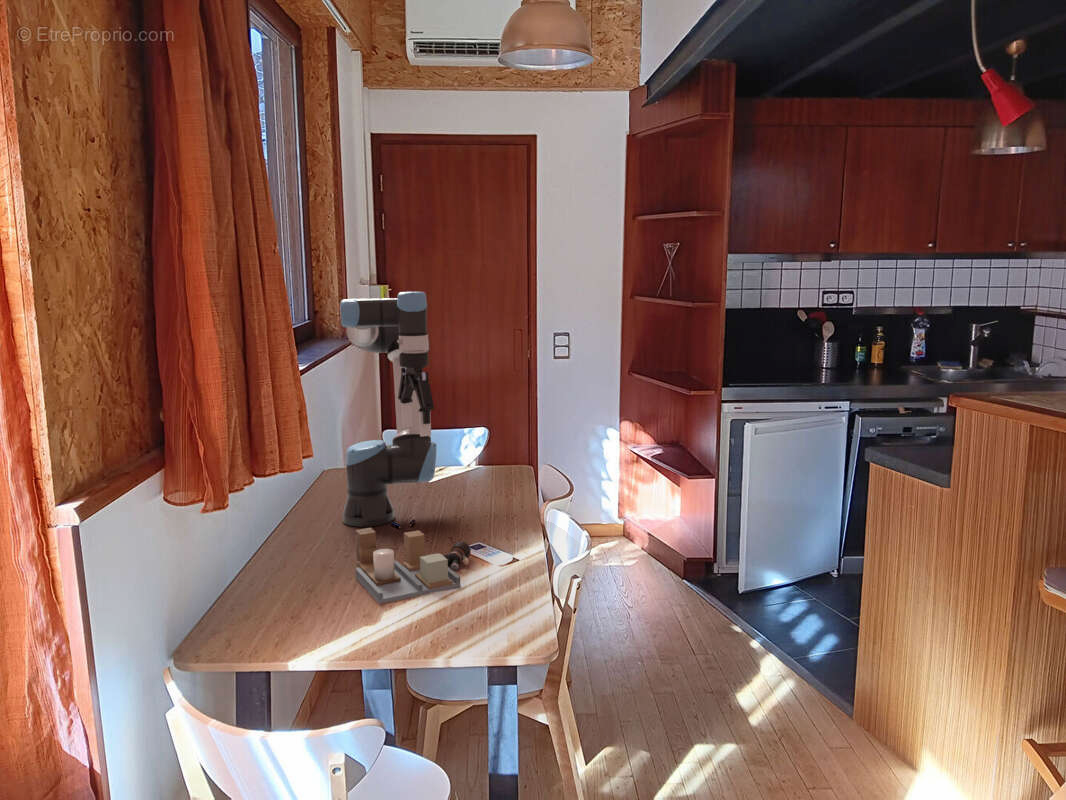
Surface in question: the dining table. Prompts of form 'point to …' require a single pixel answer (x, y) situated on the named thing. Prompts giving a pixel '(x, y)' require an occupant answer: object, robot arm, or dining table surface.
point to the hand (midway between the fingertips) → (416, 431)
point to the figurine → (458, 555)
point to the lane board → (408, 575)
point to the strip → (369, 555)
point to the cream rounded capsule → (383, 564)
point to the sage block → (434, 568)
